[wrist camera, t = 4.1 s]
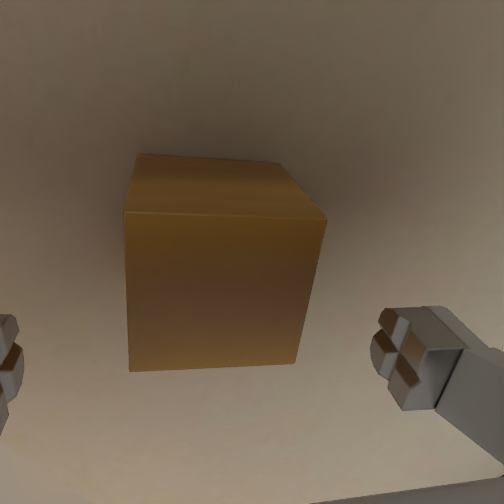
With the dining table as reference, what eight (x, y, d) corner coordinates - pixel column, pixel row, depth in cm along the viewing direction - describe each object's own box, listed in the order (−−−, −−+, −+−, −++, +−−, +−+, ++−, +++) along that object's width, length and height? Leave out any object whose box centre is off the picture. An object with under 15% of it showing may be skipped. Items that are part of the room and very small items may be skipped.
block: (137, 153, 12) (122, 211, 8) (280, 162, 13) (328, 218, 9) (139, 278, 14) (128, 372, 10) (262, 279, 15) (295, 364, 11)
